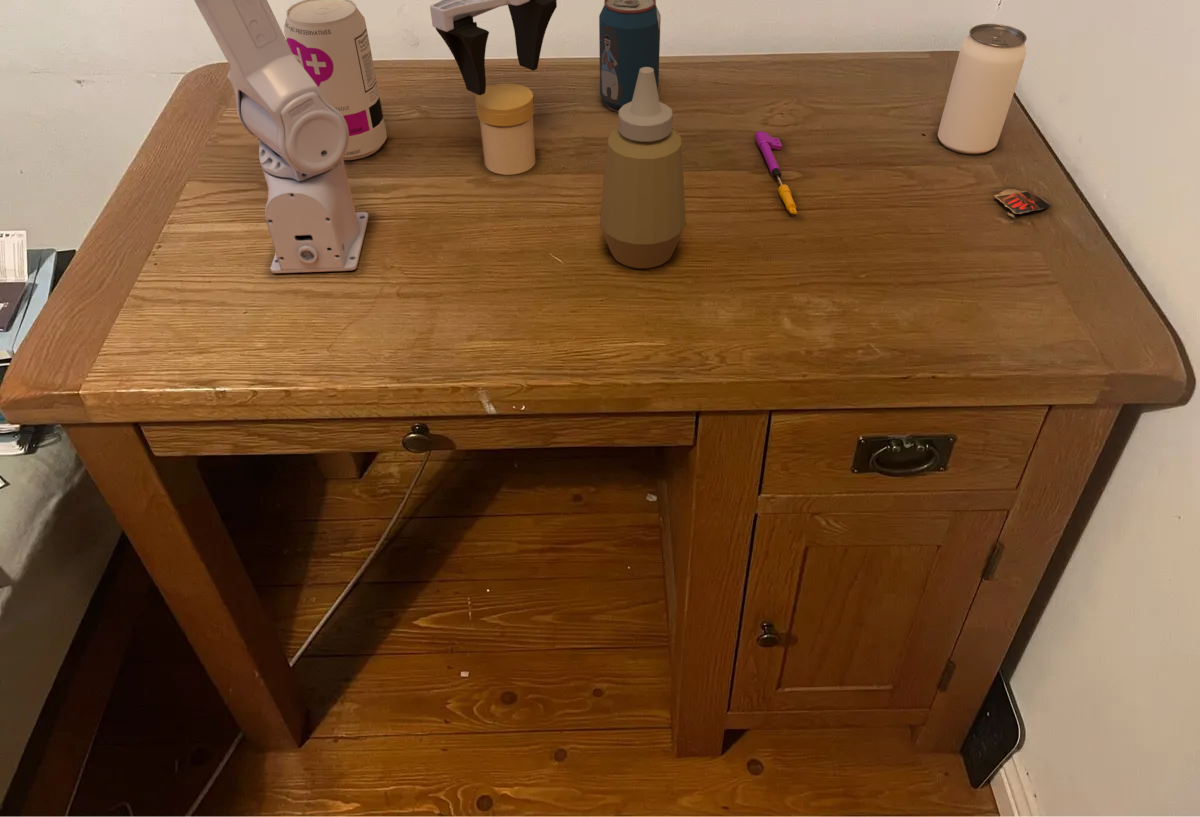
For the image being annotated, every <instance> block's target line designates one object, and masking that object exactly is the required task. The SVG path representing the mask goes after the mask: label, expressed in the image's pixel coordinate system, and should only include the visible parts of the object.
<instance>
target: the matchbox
mask: <svg viewBox="0 0 1200 817" xmlns="http://www.w3.org/2000/svg"><path fill="white" fill-rule="evenodd" d="M993 196H994V197H995V199H997V200H999V201H1000V203H1002V204H1003V205H1004V207H1005V208H1008V209H1009V210H1010V211H1011V212H1012V213H1010V212H1009V211H1007V216H1009V217H1011V218H1015V215H1017V214H1019V215H1022V214H1025V213H1030V212H1033V214H1036V212H1034V211H1041V210H1044V209H1047V208H1049V207H1050V206H1051V204H1050V202H1048V201H1047V200H1045V199H1044V198H1043V197H1041V196H1039V195H1038V194H1035V193H1032V192H1030V191H1028V190H1018V189H1015V188H1006V189H1004V190H1002V191H1000V192H998V194H994V195H993ZM1014 214H1015V215H1014Z"/></svg>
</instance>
